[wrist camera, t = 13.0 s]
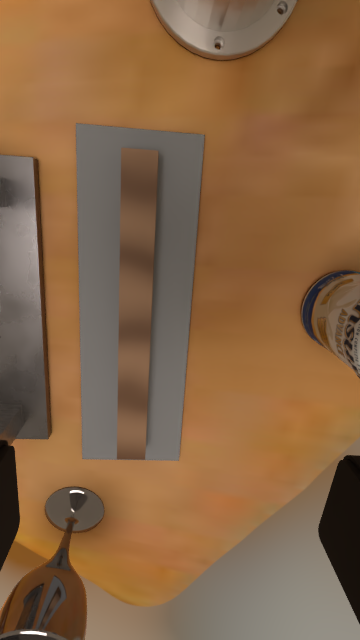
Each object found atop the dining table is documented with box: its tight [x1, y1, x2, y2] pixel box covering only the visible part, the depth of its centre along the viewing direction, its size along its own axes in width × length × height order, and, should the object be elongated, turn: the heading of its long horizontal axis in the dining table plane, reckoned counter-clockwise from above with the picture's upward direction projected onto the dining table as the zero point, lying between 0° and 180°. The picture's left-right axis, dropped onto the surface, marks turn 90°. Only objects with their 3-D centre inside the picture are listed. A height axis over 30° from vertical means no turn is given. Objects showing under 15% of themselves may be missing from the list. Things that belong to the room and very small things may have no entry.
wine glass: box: [0, 487, 104, 640], centre depth 34 cm, size 8×8×15 cm
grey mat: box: [76, 123, 205, 461], centre depth 34 cm, size 34×11×1 cm, turn 176°
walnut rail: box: [117, 148, 159, 460], centre depth 33 cm, size 30×3×2 cm, turn 176°
